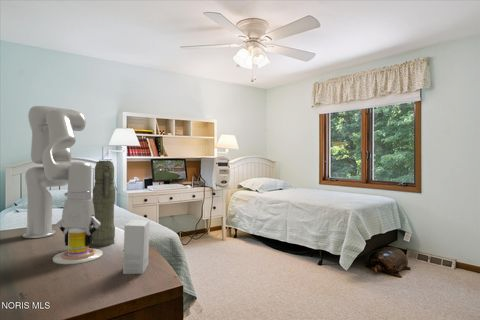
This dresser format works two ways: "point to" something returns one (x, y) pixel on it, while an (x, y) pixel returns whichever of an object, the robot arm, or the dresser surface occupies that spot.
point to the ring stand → (77, 257)
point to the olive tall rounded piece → (104, 203)
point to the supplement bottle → (77, 242)
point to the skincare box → (136, 247)
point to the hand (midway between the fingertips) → (78, 244)
